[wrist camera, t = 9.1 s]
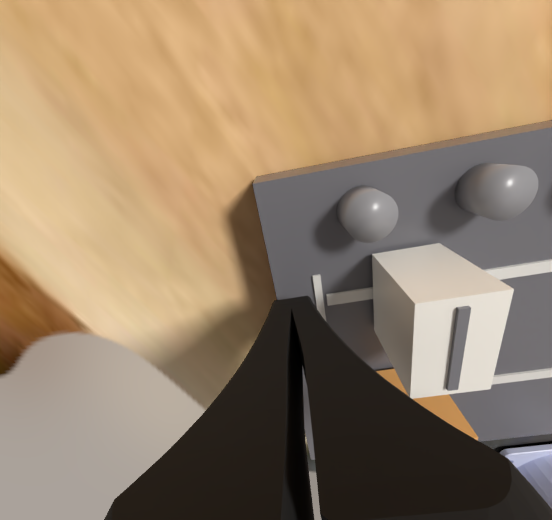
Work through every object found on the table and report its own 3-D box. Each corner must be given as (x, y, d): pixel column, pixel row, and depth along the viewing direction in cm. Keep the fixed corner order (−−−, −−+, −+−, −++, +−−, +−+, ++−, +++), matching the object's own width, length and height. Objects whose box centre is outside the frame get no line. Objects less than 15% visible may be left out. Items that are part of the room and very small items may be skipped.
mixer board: (618, 388, 16) (696, 445, 13) (307, 425, 17) (314, 484, 14) (784, 75, 9) (1026, 43, 6) (256, 176, 10) (249, 190, 8)
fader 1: (432, 322, 11) (492, 391, 8) (374, 330, 11) (411, 402, 8) (439, 242, 9) (517, 291, 6) (372, 254, 9) (417, 306, 6)
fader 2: (423, 415, 13) (467, 495, 10) (376, 420, 13) (405, 501, 10) (428, 364, 12) (480, 440, 9) (374, 371, 12) (408, 448, 9)
